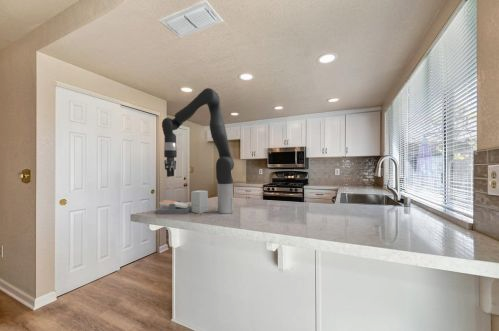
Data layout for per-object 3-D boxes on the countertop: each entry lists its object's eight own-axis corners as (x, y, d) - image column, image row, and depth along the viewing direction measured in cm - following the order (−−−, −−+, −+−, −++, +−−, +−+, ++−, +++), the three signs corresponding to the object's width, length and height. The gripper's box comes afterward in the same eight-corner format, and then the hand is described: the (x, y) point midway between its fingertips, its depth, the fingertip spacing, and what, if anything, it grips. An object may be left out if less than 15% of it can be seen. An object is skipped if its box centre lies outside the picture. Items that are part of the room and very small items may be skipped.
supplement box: (208, 211, 134) (208, 190, 134) (199, 213, 127) (199, 192, 127) (199, 210, 138) (199, 190, 138) (190, 212, 131) (190, 191, 131)
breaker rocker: (189, 205, 137) (190, 203, 137) (186, 208, 129) (186, 205, 129) (164, 201, 137) (165, 199, 137) (159, 204, 129) (159, 201, 129)
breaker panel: (192, 209, 139) (192, 200, 139) (187, 213, 127) (186, 204, 127) (164, 209, 139) (164, 200, 139) (156, 214, 127) (156, 204, 127)
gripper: (172, 149, 131) (172, 177, 131) (180, 150, 146) (180, 175, 146) (159, 149, 132) (160, 177, 132) (168, 150, 146) (169, 176, 146)
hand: (170, 176), depth 139 cm, fingers open, 5 cm apart
